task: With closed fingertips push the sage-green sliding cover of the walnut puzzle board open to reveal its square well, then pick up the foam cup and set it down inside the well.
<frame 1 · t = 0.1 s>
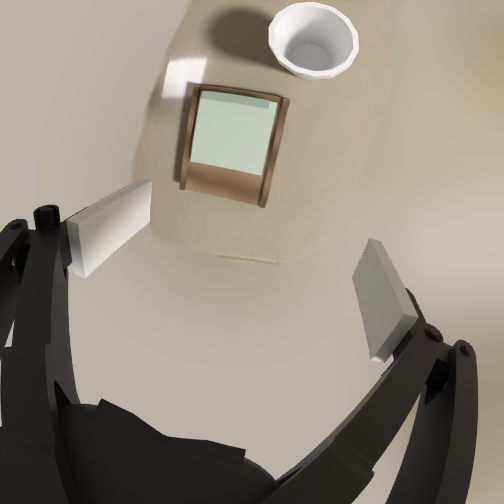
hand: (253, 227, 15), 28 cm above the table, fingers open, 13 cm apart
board: (233, 143, 39), on the table
foam cup: (309, 61, 32), on the table
cover: (230, 132, 35), point 4 cm above the table, slide at 0.0 cm
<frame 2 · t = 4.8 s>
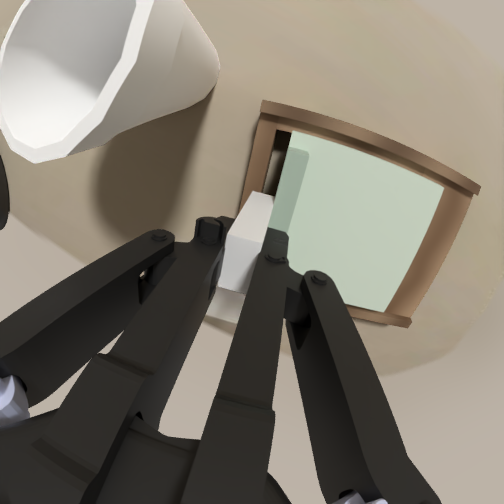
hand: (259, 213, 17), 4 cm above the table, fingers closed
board: (352, 221, 20), on the table
foam cup: (180, 71, 17), on the table
cover: (351, 239, 17), point 4 cm above the table, slide at 1.2 cm, touching gripper
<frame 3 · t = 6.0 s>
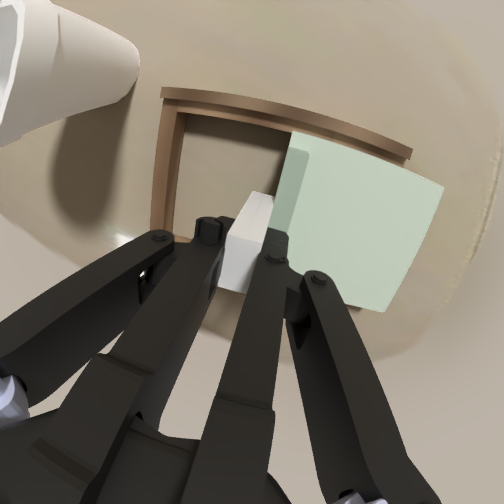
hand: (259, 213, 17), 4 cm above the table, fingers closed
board: (267, 196, 20), on the table
foam cup: (111, 71, 17), on the table
cover: (351, 239, 17), point 4 cm above the table, slide at 8.1 cm, touching gripper
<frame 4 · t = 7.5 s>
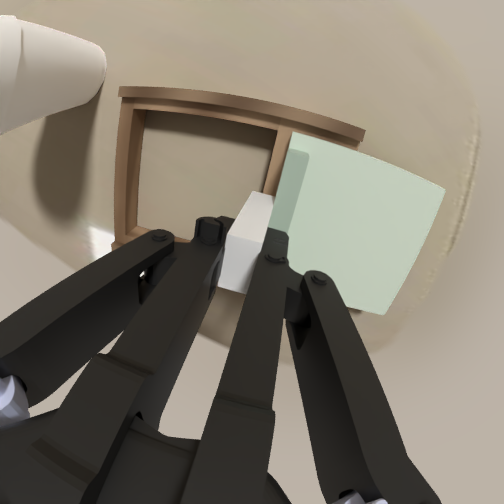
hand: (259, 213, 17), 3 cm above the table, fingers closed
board: (221, 187, 20), on the table
foam cup: (83, 74, 17), on the table
cover: (352, 241, 17), point 4 cm above the table, slide at 11.7 cm, touching gripper
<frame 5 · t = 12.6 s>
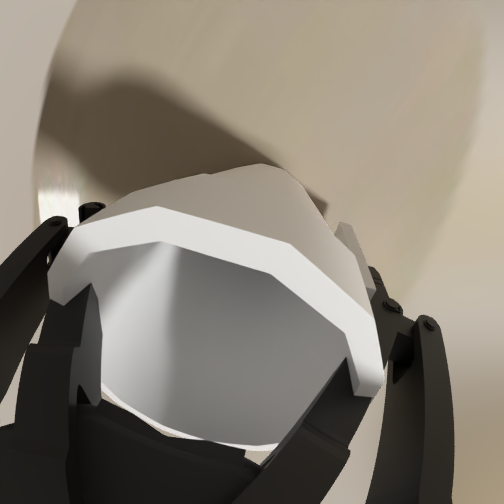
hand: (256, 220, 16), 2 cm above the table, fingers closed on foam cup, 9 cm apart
foam cup: (260, 210, 18), on the table, touching gripper
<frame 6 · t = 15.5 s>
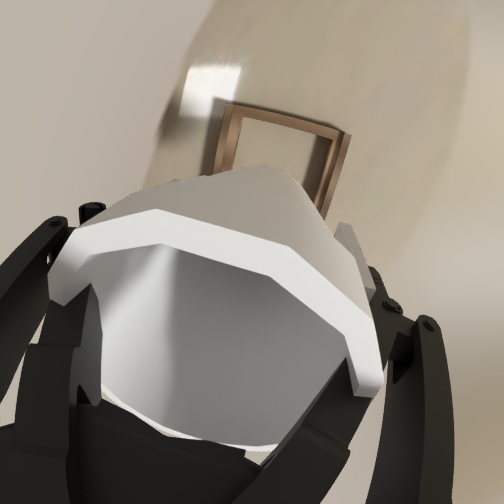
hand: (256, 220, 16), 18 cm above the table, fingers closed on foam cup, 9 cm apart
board: (273, 182, 33), on the table
foam cup: (260, 210, 18), point 16 cm above the table, touching gripper
when the fingers open (4 cm above the table, at t = 18.6 s): foam cup drops 2 cm, resting in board.
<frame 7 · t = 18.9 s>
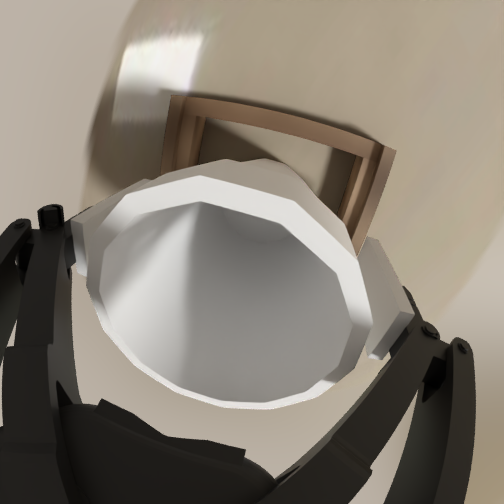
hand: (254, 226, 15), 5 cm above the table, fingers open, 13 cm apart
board: (257, 226, 20), on the table
foam cup: (264, 201, 19), resting in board
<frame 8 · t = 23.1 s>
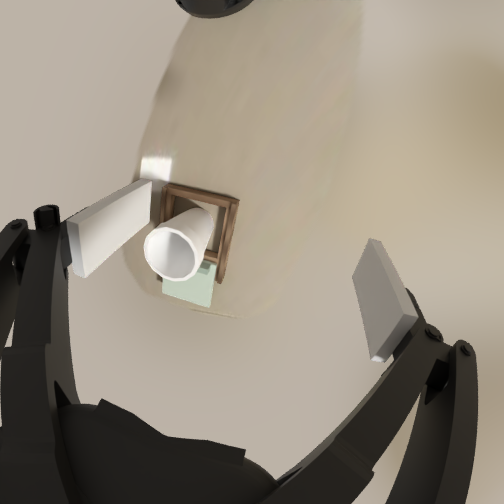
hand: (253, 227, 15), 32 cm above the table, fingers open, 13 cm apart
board: (196, 232, 52), on the table
foam cup: (198, 222, 52), resting in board
cover: (185, 282, 54), point 4 cm above the table, slide at 11.7 cm
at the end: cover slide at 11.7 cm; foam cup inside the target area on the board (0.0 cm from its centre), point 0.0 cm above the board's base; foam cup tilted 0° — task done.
